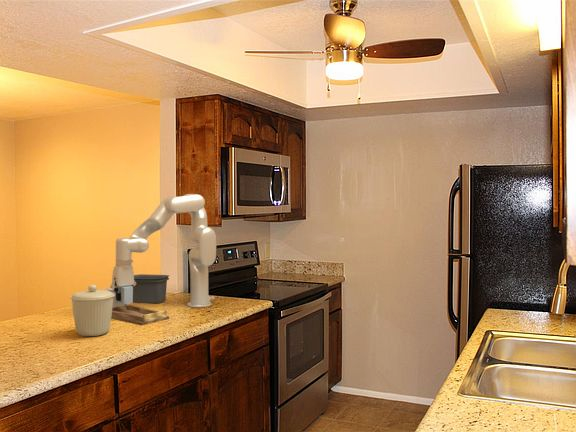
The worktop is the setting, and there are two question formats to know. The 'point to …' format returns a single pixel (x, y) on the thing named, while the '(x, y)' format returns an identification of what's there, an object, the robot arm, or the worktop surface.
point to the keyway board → (138, 314)
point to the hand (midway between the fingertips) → (123, 299)
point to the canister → (92, 311)
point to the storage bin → (150, 288)
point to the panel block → (125, 295)
